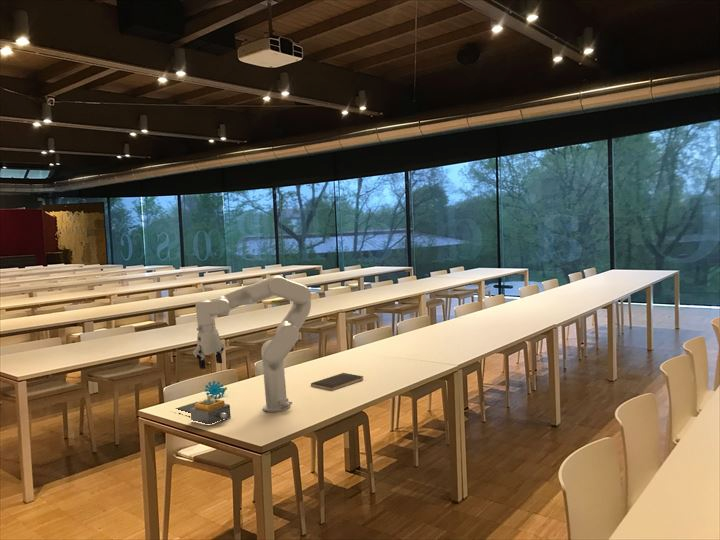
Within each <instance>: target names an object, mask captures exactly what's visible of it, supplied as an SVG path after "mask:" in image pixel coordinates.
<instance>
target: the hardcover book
mask: <svg viewBox="0 0 720 540" xmlns="http://www.w3.org/2000/svg"><path fill="white" fill-rule="evenodd" d="M363 380H364V376H363V375H357V374H352V373H346V372H342V373H339V374H335V375H331V376H329V377H326V378H323V379H320V380H317V381H314V382H313V381H312V382H311V383H310V386H311V387H314V386H315V387H314V388H319V387H320V389H323V388H324V389H323V390H328V391H333V390H337V389H340V388H342V387H345V386H349V385H351V384H354V383H359V382H361V381H363Z"/></svg>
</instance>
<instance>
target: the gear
mask: <svg viewBox="0 0 720 540" xmlns="http://www.w3.org/2000/svg"><path fill="white" fill-rule="evenodd" d="M227 389H228V387H227V386H226V387H224V383H220V381H217V382H216V381H215V380H213V381H212V382H211V381H209V382H208V383H207V384H206V385H205V389H204V392H206V394H205V395H206V397H207V396H208V395H210V397H211V398H214V399H215V398H217V399H218V398H222V396H223V395H224V394H225V392H226V391H227Z"/></svg>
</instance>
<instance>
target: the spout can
mask: <svg viewBox="0 0 720 540" xmlns="http://www.w3.org/2000/svg"><path fill="white" fill-rule="evenodd" d="M210 395H211V394H209V395H208V396H207V395H206V399H203V400H202V401H203V403H204V405H208V406H209V405H211V404H214V403H215V398H214V397H212V398H211V397H210Z"/></svg>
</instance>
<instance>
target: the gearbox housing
mask: <svg viewBox="0 0 720 540" xmlns="http://www.w3.org/2000/svg"><path fill="white" fill-rule="evenodd" d="M214 399H215V398H214ZM203 401H204V400H202V401H199V403H196V404H195V407H194V408H192V409H190V412H191V418H190V421H191V420H193V421H198V422H202V423H205V424H212V423H215V422H217V421H220V420H223V419H226V420H228V419H227V418H229V417H231V418H232V416H231V415H232V414H231V405H230V404H228V403H226V402H225V400H223V399H218V398H217V399H215V403H214V404H211V405H209V406H208V405H204V403H203ZM229 419H230V418H229Z"/></svg>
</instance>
